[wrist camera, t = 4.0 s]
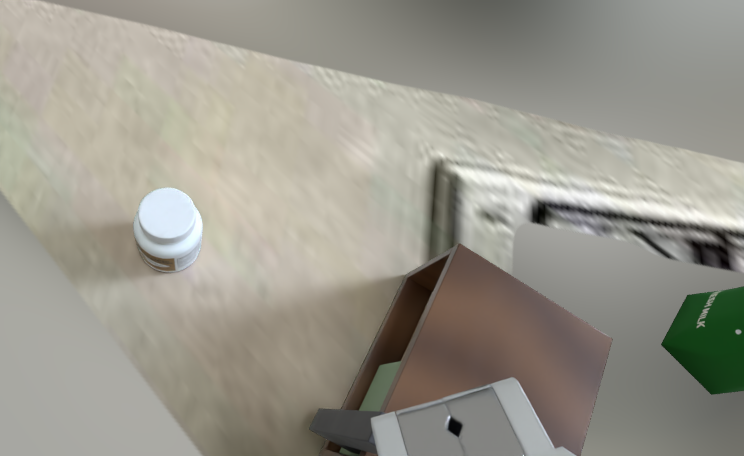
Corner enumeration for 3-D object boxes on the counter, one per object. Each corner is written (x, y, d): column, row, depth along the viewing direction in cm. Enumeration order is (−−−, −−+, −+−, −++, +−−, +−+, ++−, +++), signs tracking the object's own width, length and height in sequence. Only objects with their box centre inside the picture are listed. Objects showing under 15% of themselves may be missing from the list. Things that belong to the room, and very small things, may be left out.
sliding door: (344, 455, 39) (435, 486, 25) (298, 430, 38) (364, 447, 24) (385, 367, 42) (487, 349, 27) (343, 343, 41) (425, 312, 27)
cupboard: (468, 537, 41) (548, 575, 32) (318, 455, 39) (357, 471, 30) (532, 350, 48) (613, 338, 39) (406, 274, 46) (459, 242, 37)
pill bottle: (125, 244, 40) (112, 210, 33) (172, 206, 41) (169, 167, 34) (168, 285, 40) (164, 260, 33) (212, 246, 42) (218, 214, 35)
